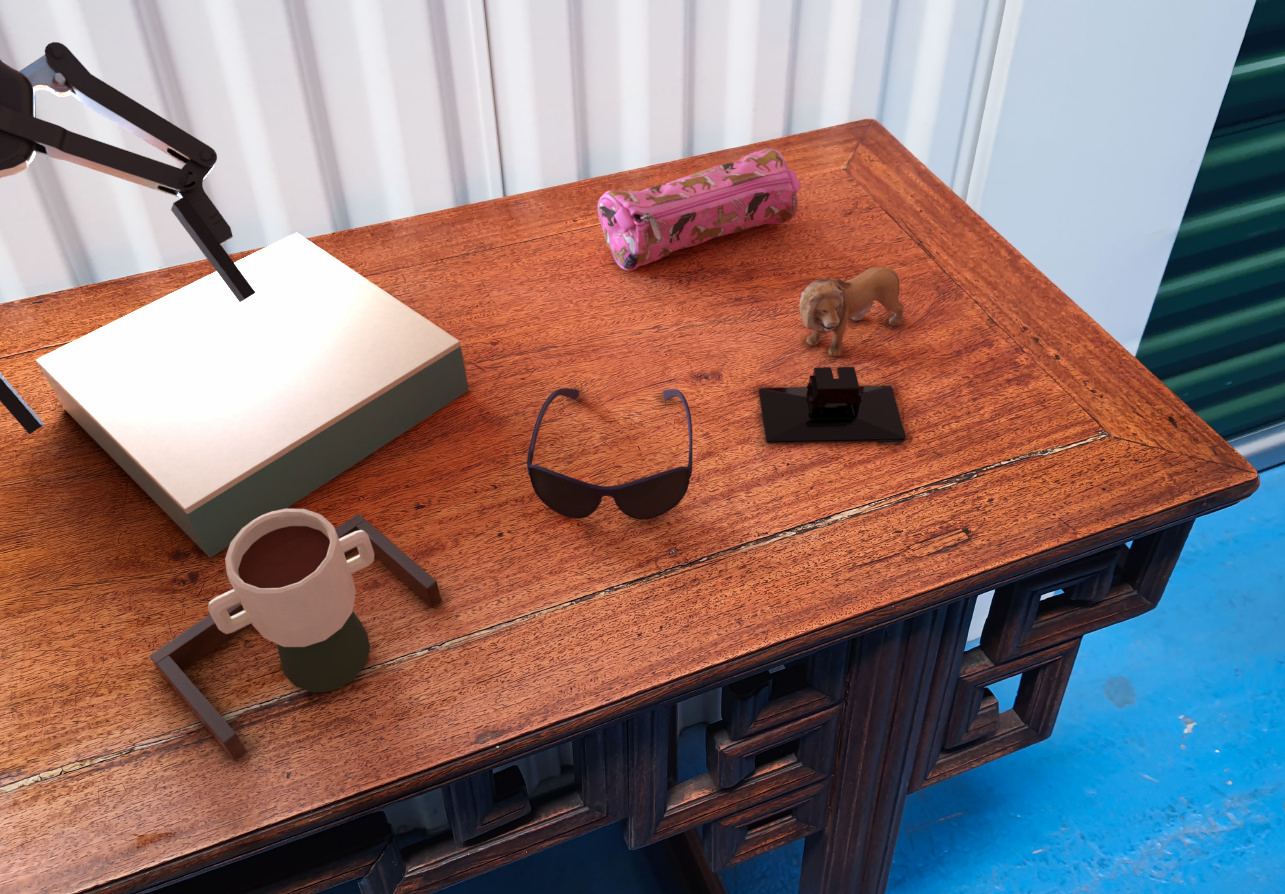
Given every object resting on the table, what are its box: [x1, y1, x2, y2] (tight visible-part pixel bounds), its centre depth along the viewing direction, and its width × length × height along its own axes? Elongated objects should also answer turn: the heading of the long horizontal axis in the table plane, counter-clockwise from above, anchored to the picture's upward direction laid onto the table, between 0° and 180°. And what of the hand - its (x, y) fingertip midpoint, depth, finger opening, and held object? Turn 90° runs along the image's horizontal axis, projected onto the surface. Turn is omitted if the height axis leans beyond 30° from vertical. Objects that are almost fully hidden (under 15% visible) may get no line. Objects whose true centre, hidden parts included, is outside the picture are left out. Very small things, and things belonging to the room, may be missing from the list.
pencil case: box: [597, 148, 802, 272], centre depth 107 cm, size 21×9×9 cm, turn 117°
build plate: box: [758, 366, 907, 445], centre depth 89 cm, size 12×7×5 cm, turn 91°
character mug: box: [207, 508, 375, 693], centre depth 68 cm, size 11×7×13 cm, turn 125°
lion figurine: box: [798, 266, 904, 357], centre depth 95 cm, size 15×5×9 cm, turn 133°
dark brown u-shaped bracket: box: [148, 513, 443, 762], centre depth 73 cm, size 18×10×2 cm, turn 137°
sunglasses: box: [526, 387, 694, 521], centre depth 85 cm, size 14×16×5 cm
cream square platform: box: [35, 232, 470, 559], centre depth 91 cm, size 27×26×6 cm
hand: (147, 361), depth 58 cm, fingers open, 13 cm apart
